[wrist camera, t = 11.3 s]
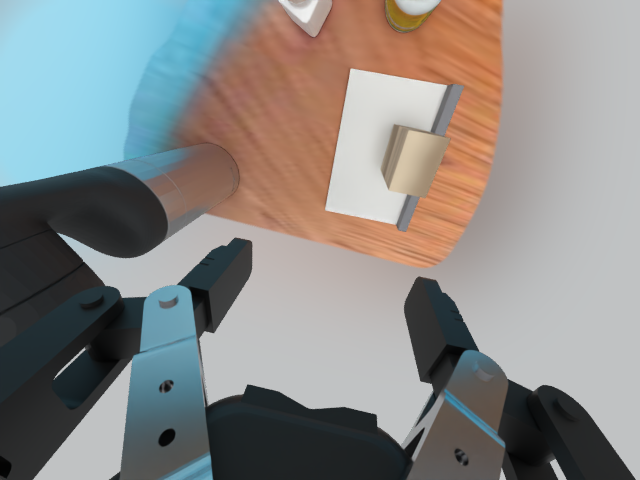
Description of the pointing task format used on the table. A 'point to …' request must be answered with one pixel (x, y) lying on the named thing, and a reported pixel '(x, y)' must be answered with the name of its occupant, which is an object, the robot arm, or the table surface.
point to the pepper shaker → (308, 13)
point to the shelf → (382, 141)
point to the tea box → (412, 160)
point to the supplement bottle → (408, 13)
